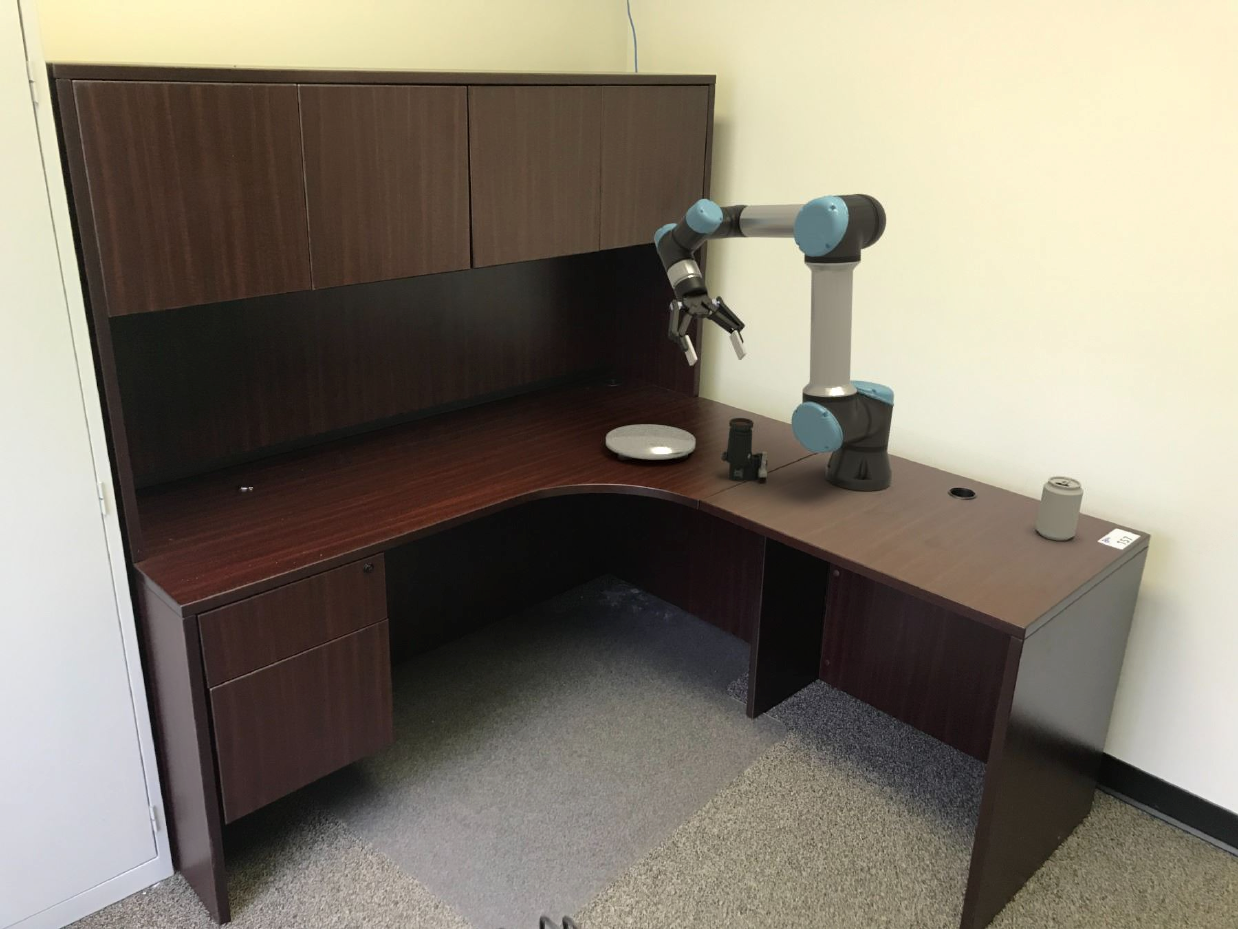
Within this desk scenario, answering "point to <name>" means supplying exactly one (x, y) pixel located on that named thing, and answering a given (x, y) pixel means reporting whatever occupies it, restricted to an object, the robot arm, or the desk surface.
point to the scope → (744, 453)
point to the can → (1059, 508)
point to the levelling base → (650, 442)
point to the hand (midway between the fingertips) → (718, 359)
